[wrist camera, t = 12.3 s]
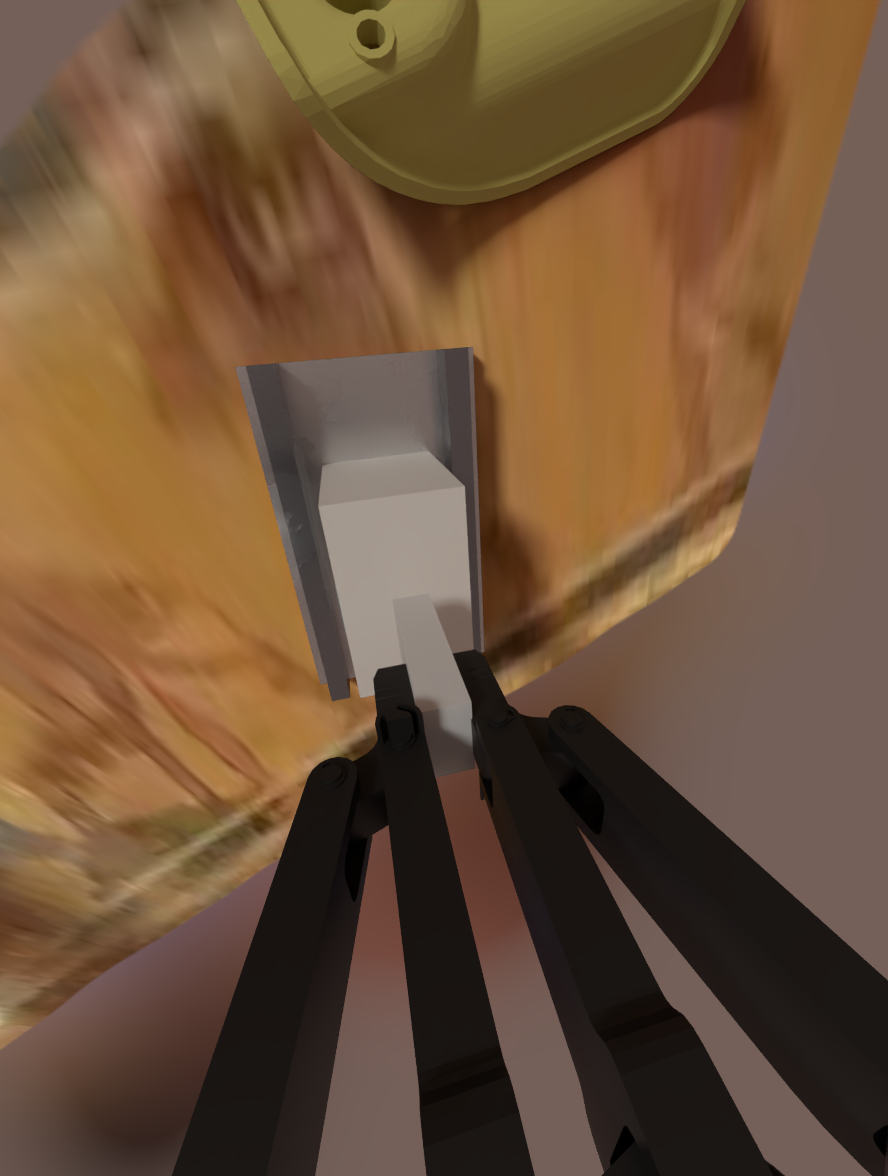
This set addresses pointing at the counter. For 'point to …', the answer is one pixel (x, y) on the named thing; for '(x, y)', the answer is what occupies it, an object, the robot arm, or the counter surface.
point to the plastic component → (485, 82)
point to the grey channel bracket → (354, 432)
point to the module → (395, 552)
